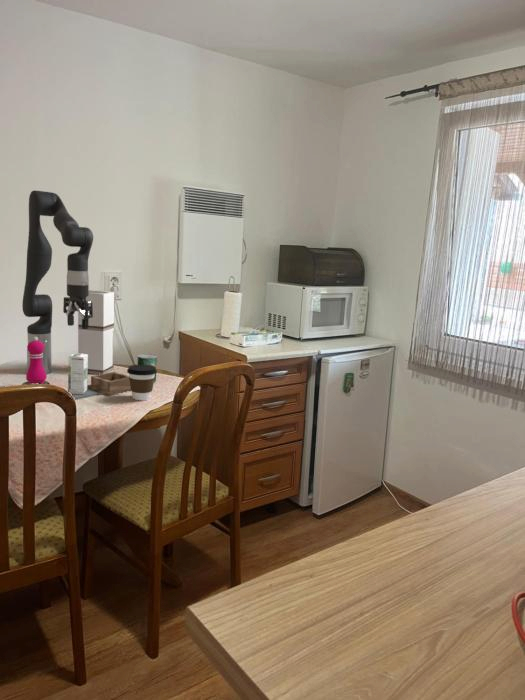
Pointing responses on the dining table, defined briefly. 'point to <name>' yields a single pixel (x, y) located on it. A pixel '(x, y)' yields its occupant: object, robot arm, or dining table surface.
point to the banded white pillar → (98, 333)
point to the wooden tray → (110, 383)
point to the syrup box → (77, 373)
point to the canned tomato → (148, 360)
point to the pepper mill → (35, 362)
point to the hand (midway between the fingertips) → (77, 327)
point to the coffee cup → (141, 381)
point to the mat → (85, 394)
